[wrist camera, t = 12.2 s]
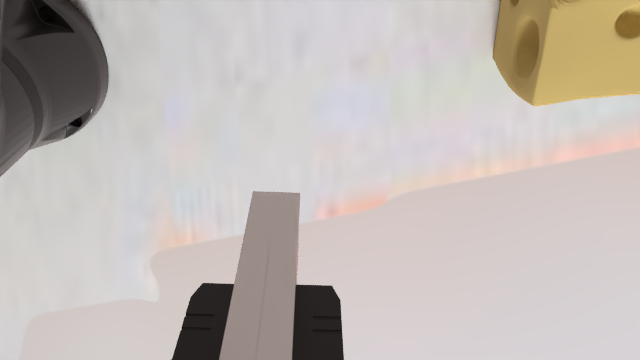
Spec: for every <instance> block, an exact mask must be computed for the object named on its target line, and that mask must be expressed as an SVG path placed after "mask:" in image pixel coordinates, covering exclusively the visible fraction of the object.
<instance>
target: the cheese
mask: <svg viewBox="0 0 640 360" xmlns="http://www.w3.org/2000/svg"><path fill="white" fill-rule="evenodd" d="M493 59H494V61H495V63H496V65H497V67H498V69H499V71H500V73H501V75H502V77H503V78H504V80H505V81H506V83H507V84H508V86H509V87H510V88H511V89H512V90H513V91H514V92H515V93H516V94H517V95H518V96H519V97H521V98H522V99H523V100H525V101H526V102H528V103H529V104H531V105H533V106H542V105H548V104H554V103H559V102H565V101H571V100H577V99H586V98H597V97H610V96H622V95H635V94H640V0H501V3H500V11H499V18H498V26H497V33H496V39H495V46H494V53H493Z"/></svg>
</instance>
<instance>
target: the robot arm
mask: <svg viewBox="0 0 640 360" xmlns="http://www.w3.org/2000/svg"><path fill="white" fill-rule="evenodd" d="M107 89H108V66H107V61H106V57H105V54H104V51H103V48H102V45H101V43H100V41H99V39H98V37H97V35H96V33H95V32H94V30H93V28H92V27H91V25H90V24H89V22H88V21H87V20H86V18H85V17H84V16H83V15H82V14H81V12H80V11H79V10H78V9H77V8H76V7H75V6H74V5H73V4H72V3H71V2H70V1H69V0H0V177H1V176H2V175H3V174H4V173H5V172H6V171H7V170H8V169H9V168H10V167H11V166H12V165H13V164H14V163H15V162H17V161H18V160H19V159H20V158H21V157H22V156H23V155H24V154H25V153H26V152H27V151H28V150H30V149H34V148H37V147H40V146H43V145H47V144H50V143H53V142H56V141H60V140H62V139H65V138H67V137H69V136H71V135H73V134H75V133H76V132H78V131H79V130H81V129H82V128H83V127H84V126H85V125H86V124H87V123H88V122H89V121H90V120H91V119H92V118H93V117H94V116H95V115H96V113H97V112H98V111H99V109H100V108H101V106H102V104H103V102H104V100H105V97H106V93H107ZM299 206H300V193H284V192H255V191H253V194H252V199H251V204H250V209H249V214H248V219H247V224H246V229H245V234H244V239H243V244H242V249H241V254H240V259H239V264H238V269H237V274H236V278H235V283H234V284H213V283H203V284H202V285H201V286H200V287H199V288H198V289H197V291H196V292H195V293H194V294H193V295H192V296H191V298H190V302H189V305H188V308H187V311H186V317H185V318H184V321H183V325H182V330H181V332H180V335H179V338H178V341H177V345H176V348H175V351H174V355H173V358H172V360H344V357H343V339H342V323H341V305H340V299H339V297H338V296H337V294H336V292H335V290H334V289H333V287H332V286H321V285H297V266H298V239H299Z"/></svg>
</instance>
